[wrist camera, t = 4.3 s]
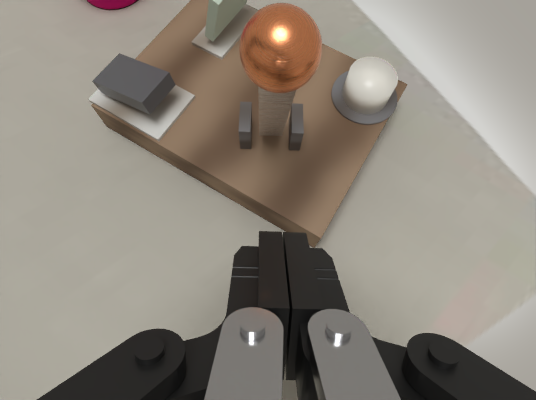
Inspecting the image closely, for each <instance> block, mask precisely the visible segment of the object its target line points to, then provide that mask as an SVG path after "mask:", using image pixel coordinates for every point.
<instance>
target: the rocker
mask: <svg viewBox="0 0 536 400" xmlns="http://www.w3.org/2000/svg"><path fill="white" fill-rule="evenodd" d="M93 83H94V84H95V85H96V86H97V88H98V89H99V90H100V91H101V93H103V94H105V95H107V96H110V97H112V98H114V99H116V100H118V101H121V102H123V103H125V104H127V105H130V106H132V107H134V108H136V109H139V110H141V111H143V112H145V113H148V114H151V113H152V112H153V111H154V110H155V108H156V107H157V106H158V105H159V104H160V103H161V101H162V100H163V99H164V98H165V97H166V96H167V95H168V93H169V92H170V91H171V90H172V89H173V88H174V86H175V85H176V84H175V82H174V81H173V79H172V77H171V75H170V73H169V72H167V71H165V70H162V69H159V68H157V67H154V66H151V65H149V64H146V63H143V62H141V61H138V60H135V59H133V58H130V57H127V56H125V55H122V54H118V55H117V56H116V57H115V58H114V60H113V61H112V62H111V63H110V64H109V65H108V66H107V67H106V68H105V69H104V70H103V71H102V72H101V73H100V74H99V75H98V76H97V77H96V78H95V79H94V80H93Z"/></svg>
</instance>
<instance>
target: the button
mask: <svg viewBox="0 0 536 400" xmlns="http://www.w3.org/2000/svg"><path fill="white" fill-rule="evenodd" d="M397 83H398V75H397V72H396V70H395V69H394V67H393V66H392V65H391V64H390V63H389V62H387V61H385V60H384V59H381V58H378V57H363V58H360V59H358V60H356V61H355V62H354V63H353V64H352V65H351V67H350V69H349V72H348V75H347V78H346V81H345V84H344V86H343V89H342V97H343V100H344V102H345V104H346V105H347V106H348V107H349V108H350V109H351V110H353V111H355V112H357V113H360V114H374V113H377V112H379V111H381V110H382V109H383V108H384V107H385V105H386V103H387V102H388V100H389V98H390V96H391V95H392V93H393V91H394V89H395V88H396V86H397Z"/></svg>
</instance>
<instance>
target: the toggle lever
mask: <svg viewBox="0 0 536 400" xmlns="http://www.w3.org/2000/svg"><path fill="white" fill-rule="evenodd" d="M239 51H240V59H241V63H242V66H243V68H244V70H245V72H246V74H247V75H248V77H249V78H250V79H251V80H252V82H254V83H255V84H256V85H257V86H258V92H259V135H263V136H282V134H283V131H284V128H285V125H286V121H287V118H288V115H289V112H290V109H291V106H292V103H293V99H294V96H295V93H296V90H297V89H299V88H300V87H302V86H303V85H305V84H306V83H307V82H308V81H309V80H310V79H311V78H312V77H313V75H314V74H315V72H316V70H317V68H318V66H319V63H320V60H321V55H322V40H321V35H320V32H319V29H318V27H317V25H316V23H315V21H314V20H313V19H312V18H311V16H310V15H309V14H308V13H307V12H305V11H304V10H303V9H301V8H299V7H297V6H295V5H292V4H288V3H276V4H271V5H268V6H266V7H263V8H262V9H260V10H258V11H257V12H256V13H255V14H254V15H253V16H252V17H251V18H250V19H249V21H248V22H247V23H246V25H245V27H244V29H243V32H242V35H241V39H240V46H239Z"/></svg>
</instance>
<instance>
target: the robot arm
mask: <svg viewBox="0 0 536 400" xmlns="http://www.w3.org/2000/svg"><path fill="white" fill-rule="evenodd" d="M284 369H285V370H286V380H296V385H297V395H298V400H536V392H535V391H534V390H532V389H531V388H529V387H527V386H526V385H524V384H523V383H521V382H519V381H518V380H516V379H514V378H513V377H511V376H510V375H508V374H506V373H505V372H503V371H502V370H500V369H499V368H497V367H495V366H494V365H492V364H490V363H489V362H487V361H486V360H484V359H483V358H481V357H479V356H478V355H476V354H475V353H473V352H471V351H470V350H468V349H467V348H465V347H463V346H462V345H460V344H459V343H457V342H455V341H453V340H452V339H449V338H447V337H445V336H442V335H438V334H433V333H422V334H418V335H415V336H413V337H412V338H411V339H410V340H409V342H408V345H407V347H403V346H399V345H396V344H392V343H388V342H385V341H382V340H378V339H376V338H374V337H372V336H371V335H370V333H369V330H368V328H367V327H366V325H365V324H364V323H363V321H361V320H360V319H359V318H358V317H356V316H355V315H353V314H351V313H350V312H349V309H348V306H347V303H346V300H345V296H344V293H343V290H342V287H341V284H340V281H339V280H338V275H337V272H336V271H335V266H334V263H333V260H332V257H330V256H329V255H328V254H327V253H326V252H325V251H324V250H323V249H322V248H310V247H309V243H308V238H307V234H306V233H301V232H283V237H282V232H269V231H259V247H254V246H242V247H241V248H240V249H239V250H238V252H237V253H236V254H235V255H234V261H233V269H232V277H231V284H230V292H229V299H228V307H227V313H226V317H225V319H224V321H223V322H222V324H221V325H220V326H219V327H218V328H216V329H215V330H214V331H212V332H211V333H209V334H206V335H204V336H201V337H198V338H194V339H190V340H186V341H183V340H182V339H181V337H180V336H179V335H178V334H176V333H175V332H173V331H170V330H166V329H151V330H146V331H143V332H140V333H138V334H136V335H134V336H132V337H130V338H129V339H127V340H126V341H124V342H123V343H121V344H120V345H118V346H117V347H115V348H114V349H112V350H111V351H109V352H108V353H106V354H105V355H103V356H102V357H100V358H99V359H97V360H96V361H94V362H93V363H91V364H90V365H88V366H87V367H85V368H84V369H82V370H81V371H79V372H78V373H76V374H75V375H73V376H72V377H70V378H69V379H67V380H66V381H64V382H63V383H61V384H60V385H58V386H57V387H55V388H54V389H52V390H51V391H49V392H48V393H46V394H45V395H43V396H42V397H40V398H39V399H37V400H282V380H284Z"/></svg>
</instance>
